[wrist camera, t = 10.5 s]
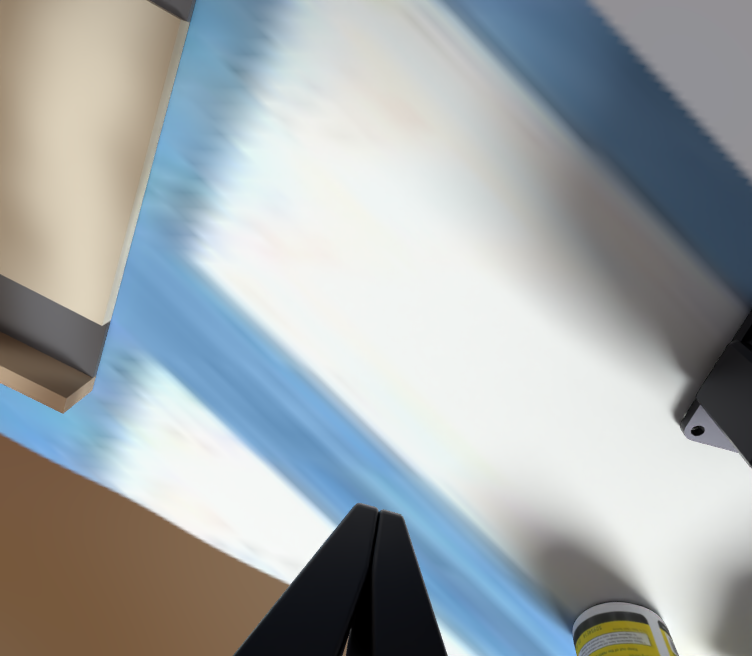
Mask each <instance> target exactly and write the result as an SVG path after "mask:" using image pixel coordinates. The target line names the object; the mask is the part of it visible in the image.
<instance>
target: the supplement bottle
mask: <svg viewBox="0 0 752 656" xmlns="http://www.w3.org/2000/svg"><path fill="white" fill-rule="evenodd" d="M573 640H574V645H575V650H576V654H577V656H679V655H678V653H677V650H676V648H675V645H674V643H673V640H672V638H671V636H670V633H669V630H668V628H667V626H666V624H665V623H664V621H663V620H662V619H661V618H660V617H659V616H658V615H657V614H656V613H654V612H653V611H651V610H649V609H647V608H644V607H642V606H638V605H635V604H631V603H624V602H609V603H603V604H599V605H596V606H593V607H591V608H589V609H587V610H586V611H584V612H583V613H582V614H581V615H580V616H579V617H578V618H577V619H576V621H575V623H574V626H573Z"/></svg>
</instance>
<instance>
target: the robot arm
mask: <svg viewBox="0 0 752 656" xmlns="http://www.w3.org/2000/svg"><path fill="white" fill-rule="evenodd" d="M696 397H697V398H696V399H695V401H694V402H693V404H692V406H691V407H690V409H689V410H688V412H687V414H686V415H685V417H684V418H683V420H682V422H681V424H680V428H681V431H682V432H683V433H684V435H685V436H686V437H687V438H688V439H690V440H692V441H696V442H700V443H703V444H707V445H711V446H715V447H718V448H722V449H726V450H730V451H734V452H737V453H739V454H740V455H741V456H742V458H743V459H744V460H745V461H746V463H747V464H748V465H749V466H750V467H751V468H752V310H751V312H750V314H749V315H748V317H747V318H746V320H745V322H744V323H743V325H742V326H741V328H740V329H739V331H738V333H737V334H736V336H735V337H734V339H733V341H732V342H731V343H730V344H728V345H727V347H726V349H725V350H724V352H723V353H722V355H721V357H720V358H719V360H718V361H717V363H716V365H715V366H714V368H713V369H712V371H711V373H710V374H709V376H708V377H707V379H706V380H705V382H704V384H703V385H702V387H701V388H700V390H699V392H698V393H697V395H696ZM695 426H700V427H699V428H698V429H695V430H691V429H692V428H693V427H695ZM348 636H349V639H348ZM347 639H348V645H347V651H346V656H448V655H447V652H446V649H445V646H444V643H443V640H442V636H441V633H440V630H439V627H438V624H437V621H436V618H435V614H434V611H433V608H432V605H431V602H430V599H429V596H428V593H427V589H426V586H425V583H424V580H423V577H422V574H421V571H420V567H419V564H418V561H417V558H416V555H415V552H414V549H413V546H412V542H411V539H410V536H409V533H408V530H407V527H406V524H405V520H404V518H403V516H402V515H401V514H398V513H394V512H391V511H387V510H381V511H380V512H379V511H378V509H377V508H376V507H373V506H369V505H366V504H362V503H357V504H356V505H354V507H353V508H352V509H351V510H350V512H349V513H348V514H347V515H346V516H345V518H344V519H343V520H342V521H341V523H340V524H339V525H338V526H337V528H336V529H335V530H334V531H333V533H332V534H331V535H330V536H329V537H328V539H327V540H326V541H325V542H324V544H323V545H322V546H321V547H320V549H319V550H318V551H317V552H316V554H315V555H314V556H313V557H312V559H311V560H310V561H309V562H308V563H307V565H306V566H305V567H304V568H303V570H302V571H301V572H300V573H299V575H298V576H297V577H296V578H295V580H294V581H293V582H292V583H291V584H290V586H289V587H288V588H287V589H286V591H285V592H284V593H283V594H282V596H281V597H280V598H279V599H278V601H277V602H276V603H275V604H274V606H273V607H272V608H271V609H270V611H269V612H268V613H267V614H266V615H265V617H264V618H263V619H262V620H261V622H260V623H259V624H258V625H257V627H256V628H255V629H254V630H253V631H252V633H251V634H250V635H249V636H248V638H247V639H246V640H245V641H244V643H243V644H242V645H241V646H240V648H239V649H238V650H237V651H236V653H235V654H234V655H233V656H342V655H343V652H344V649H345V645H346V642H347Z"/></svg>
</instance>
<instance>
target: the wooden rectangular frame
mask: <svg viewBox="0 0 752 656" xmlns="http://www.w3.org/2000/svg"><path fill="white" fill-rule="evenodd" d="M195 1H196V0H0V383H2V384H4V385H6V386H8V387H10V388H12V389H14V390H16V391H18V392H20V393H22V394H24V395H26V396H28V397H30V398H32V399H34V400H36V401H38V402H40V403H42V404H44V405H46V406H48V407H50V408H52V409H54V410H56V411H58V412H60V413H64V412H66V411H67V410H68V409H69V408H71V407H72V406H73V405H74V404H76V403H77V402H78V401H80V400H81V399H82V398H83V397H85V396H86V395H87V394H88V393H90V392H91V391H92V389H93V385H94V381H95V378H96V374H97V370H98V366H99V363H100V359H101V355H102V351H103V347H104V344H105V340H106V336H107V332H108V329H109V325H110V321H111V317H112V314H113V310H114V306H115V302H116V299H117V295H118V291H119V287H120V284H121V280H122V276H123V272H124V268H125V265H126V261H127V257H128V253H129V250H130V246H131V242H132V238H133V235H134V231H135V227H136V223H137V220H138V216H139V212H140V208H141V205H142V201H143V197H144V193H145V189H146V186H147V182H148V178H149V174H150V171H151V167H152V163H153V159H154V156H155V152H156V148H157V144H158V141H159V137H160V133H161V129H162V126H163V122H164V118H165V114H166V110H167V107H168V103H169V99H170V95H171V92H172V88H173V84H174V80H175V77H176V73H177V69H178V65H179V62H180V58H181V54H182V50H183V47H184V43H185V39H186V35H187V32H188V28H189V24H190V20H191V16H192V13H193V9H194V5H195Z"/></svg>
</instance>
